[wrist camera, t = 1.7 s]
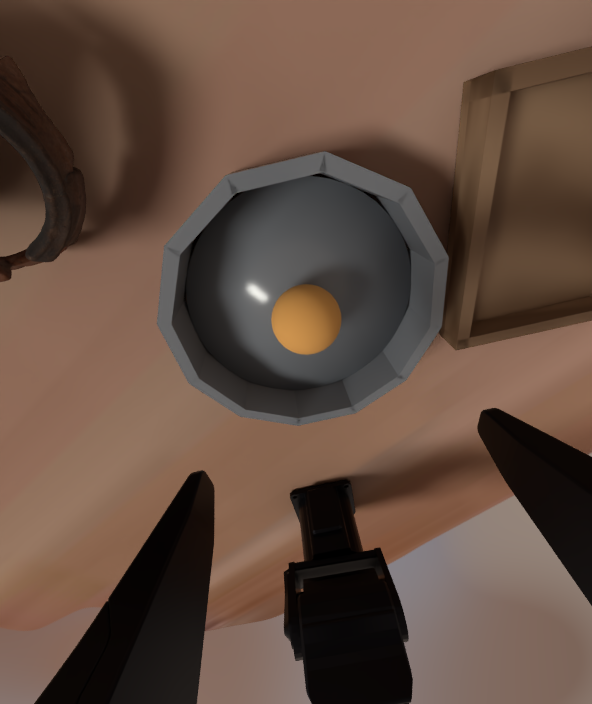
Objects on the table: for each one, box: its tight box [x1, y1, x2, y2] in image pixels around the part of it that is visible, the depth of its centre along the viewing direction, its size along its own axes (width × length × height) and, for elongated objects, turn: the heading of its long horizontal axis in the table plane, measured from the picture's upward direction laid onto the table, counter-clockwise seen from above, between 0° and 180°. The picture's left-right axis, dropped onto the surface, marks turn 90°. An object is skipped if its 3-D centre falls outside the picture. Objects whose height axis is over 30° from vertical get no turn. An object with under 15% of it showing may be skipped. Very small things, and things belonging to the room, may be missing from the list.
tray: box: [439, 47, 592, 350], centre depth 16 cm, size 14×11×2 cm
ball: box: [271, 284, 341, 355], centre depth 17 cm, size 4×4×4 cm
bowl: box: [157, 151, 449, 426], centre depth 17 cm, size 15×15×3 cm
